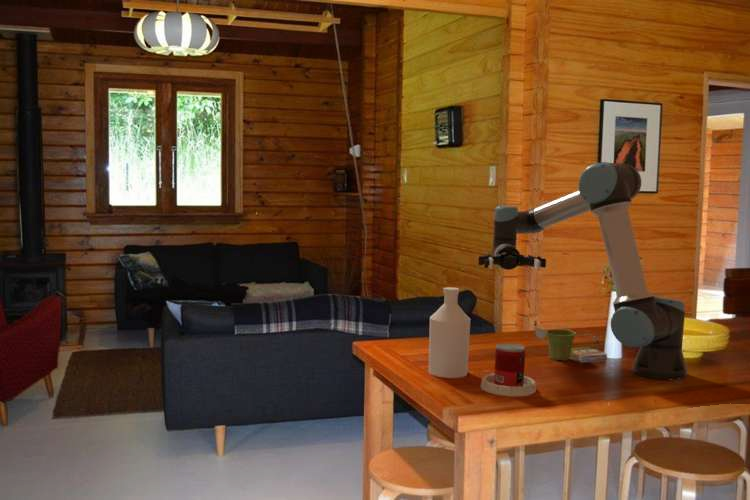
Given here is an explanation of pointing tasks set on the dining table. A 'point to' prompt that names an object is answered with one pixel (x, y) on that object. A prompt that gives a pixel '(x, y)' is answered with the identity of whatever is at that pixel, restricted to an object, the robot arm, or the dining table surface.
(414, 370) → the dining table surface
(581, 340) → the dining table surface
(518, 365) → the canned food
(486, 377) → the dish
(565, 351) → the plant pot
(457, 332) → the bottle
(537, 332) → the eyeglasses
